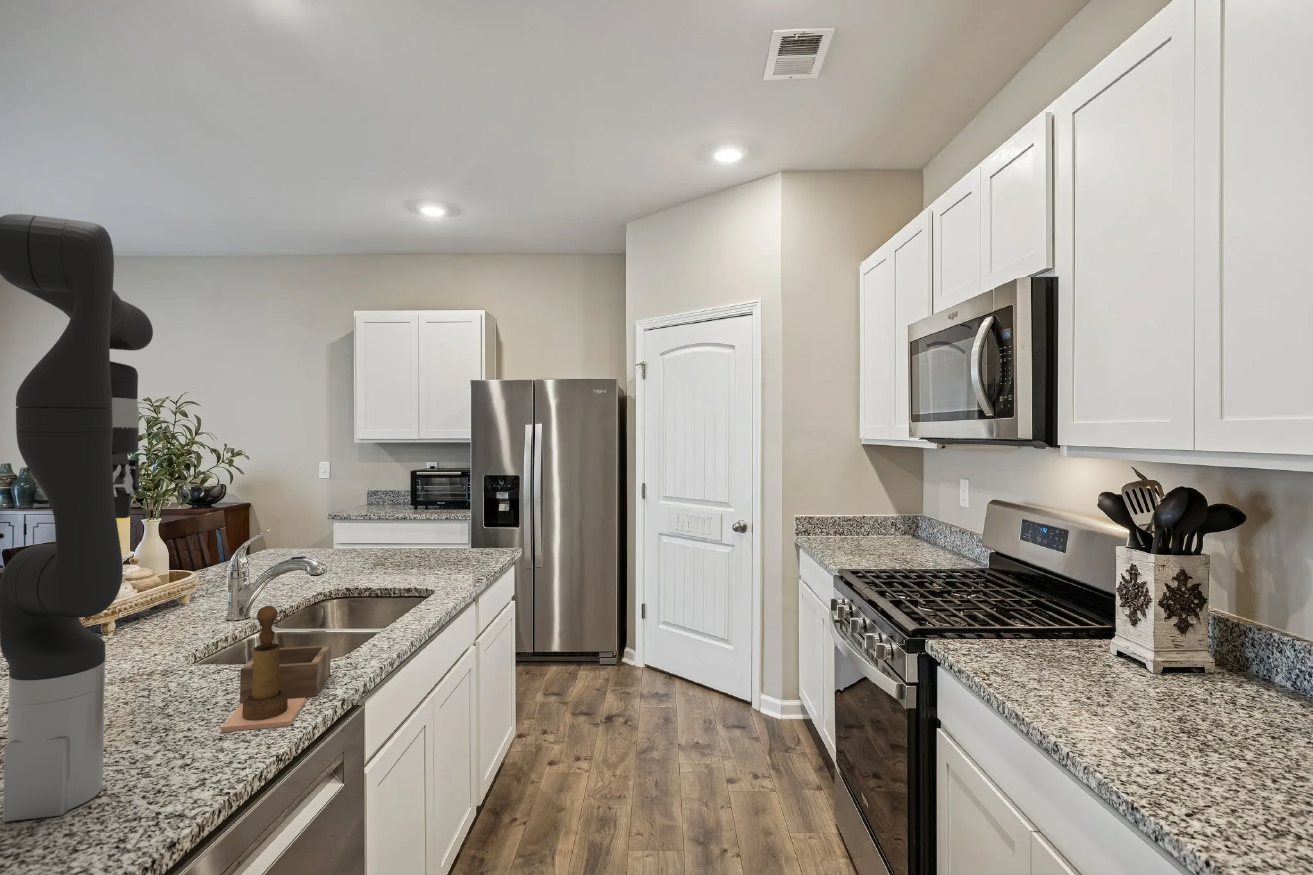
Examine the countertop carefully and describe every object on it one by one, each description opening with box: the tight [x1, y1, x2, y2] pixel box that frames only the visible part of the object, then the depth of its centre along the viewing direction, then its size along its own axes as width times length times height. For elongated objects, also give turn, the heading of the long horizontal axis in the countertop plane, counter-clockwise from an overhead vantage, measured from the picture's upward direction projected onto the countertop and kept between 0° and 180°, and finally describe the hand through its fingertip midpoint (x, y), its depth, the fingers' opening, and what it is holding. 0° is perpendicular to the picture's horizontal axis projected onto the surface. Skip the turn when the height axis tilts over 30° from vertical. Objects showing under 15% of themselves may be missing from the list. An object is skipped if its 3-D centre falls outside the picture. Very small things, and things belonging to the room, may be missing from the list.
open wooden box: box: [239, 644, 332, 704], centre depth 123 cm, size 11×12×6 cm
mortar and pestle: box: [242, 605, 288, 720], centre depth 110 cm, size 7×6×18 cm
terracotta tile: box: [220, 697, 307, 733], centre depth 110 cm, size 10×10×1 cm
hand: (108, 520), depth 109 cm, fingers open, 8 cm apart
